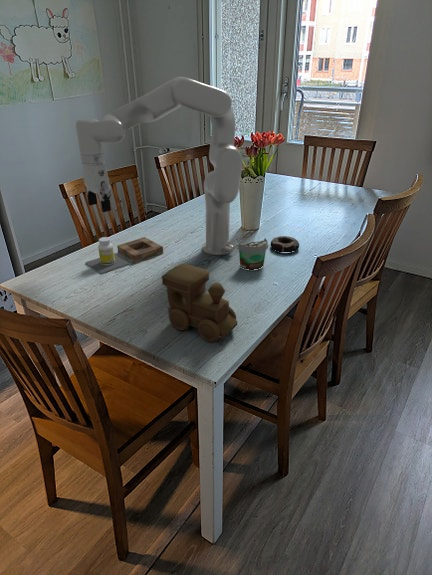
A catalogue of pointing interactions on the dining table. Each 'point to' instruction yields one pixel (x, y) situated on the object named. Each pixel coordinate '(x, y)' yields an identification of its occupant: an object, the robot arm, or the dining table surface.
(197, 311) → the wooden toy train
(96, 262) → the rubber mat
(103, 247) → the supplement bottle
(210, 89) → the robot arm
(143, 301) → the dining table surface
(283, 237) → the donut
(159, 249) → the socket block
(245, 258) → the food container
